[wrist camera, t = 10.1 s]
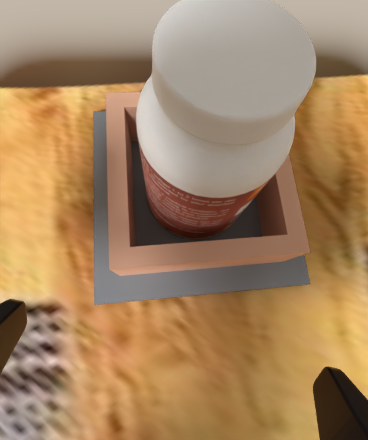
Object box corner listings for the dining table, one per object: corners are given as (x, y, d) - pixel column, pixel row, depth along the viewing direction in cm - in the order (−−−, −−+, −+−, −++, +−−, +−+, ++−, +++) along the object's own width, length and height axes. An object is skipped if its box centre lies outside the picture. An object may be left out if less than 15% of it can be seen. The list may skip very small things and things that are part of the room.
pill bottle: (236, 248, 18) (347, 168, 7) (138, 232, 17) (99, 124, 7) (245, 161, 19) (344, -11, 9) (156, 145, 19) (147, -48, 9)
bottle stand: (97, 304, 17) (75, 305, 13) (96, 118, 20) (78, 72, 16) (304, 285, 18) (346, 279, 14) (268, 112, 22) (293, 67, 17)
